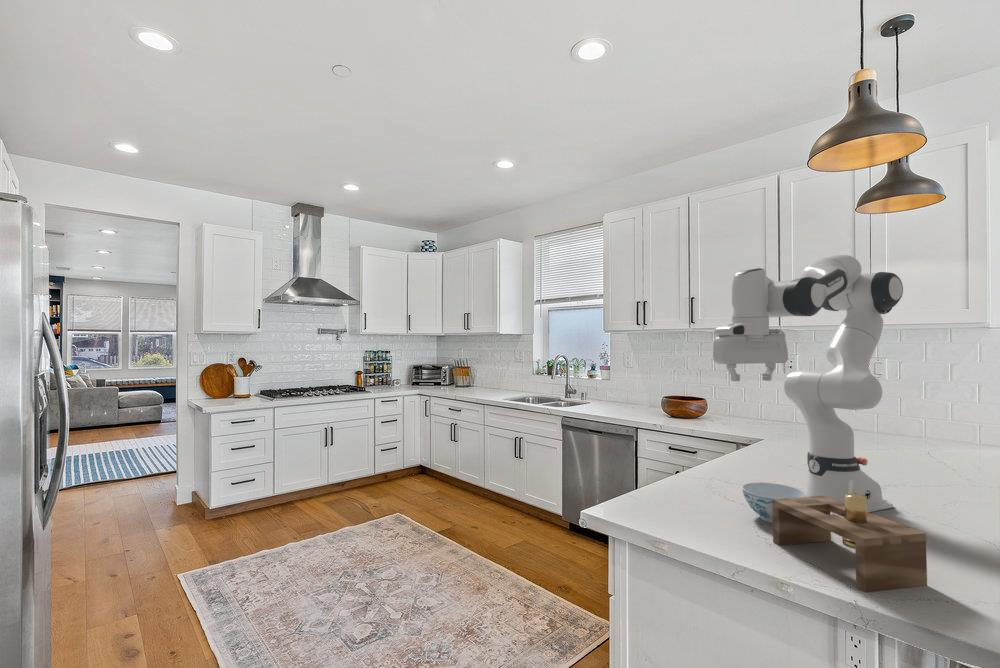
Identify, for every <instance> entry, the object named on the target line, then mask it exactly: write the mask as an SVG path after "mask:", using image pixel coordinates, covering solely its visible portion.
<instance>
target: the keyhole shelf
mask: <svg viewBox="0 0 1000 668" xmlns="http://www.w3.org/2000/svg"><path fill="white" fill-rule="evenodd" d="M831 513H833V514H831ZM772 514H773V523H772V543H775V544H776V545H778V546H784V545H785V546H787V545H795V544H806V543H807V544H808V543H818V542H829V541H832V533H833V534H835V535H838V536H840V537H844V538H846V539H848V540H850V541H853V542H855V549H854V550H855V584H856V585H855V587H856V588H857V589H859V590H860V591H863V592H865V593H871V592H879V591H881V592H882V591H888V590H889V591H890V590H897V589H898V590H899V589H906V588H915V587H923V586H928V566H927V565H928V564H927V534H926V532H924V531H921V530H918V529H916V528H913V527H910V526H908V525H904V524H902V523H899V522H897V521H894V520H890V519H889V518H888V519H887V518H886V517H883V516H880V515H877V514H874V513H873V512H867V523H854V522H850V521H848V520H846V519H845V503H842V502H839V501H836V500H834V499H831V498H828V497H825V496H812V497H798V498H784V499H772Z"/></svg>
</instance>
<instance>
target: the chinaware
mask: <svg viewBox="0 0 1000 668" xmlns="http://www.w3.org/2000/svg"><path fill="white" fill-rule="evenodd" d="M741 490H742V494H743V497H744V499H745V501H746V503H747V505H748V506H749V507H750V508H751V509H752V510H753V511H754V512H755V513H756V514H758V515H759V518H760V519H761V520H762V521H764V522H766V523H771V524H773V514H772V499H784V498H798V497H806V493H805V491H803V490H802V489H800V488H797V487H795V486H790V485H785V484H781V483H780V484H779V483H775V482H774V483H772V482H748V483H745V484H743V485H742V488H741Z"/></svg>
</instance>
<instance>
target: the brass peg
mask: <svg viewBox="0 0 1000 668" xmlns="http://www.w3.org/2000/svg"><path fill="white" fill-rule="evenodd" d="M844 518H845V519H846V520H848V521H850V522H854V523H867V509H866V497H865V496H862V495H858V494H845V517H844ZM842 544H843V546H846V547H847V548H850V549H853V550H855V542H853V541H850V540H848V539H846V538H844V537H842Z"/></svg>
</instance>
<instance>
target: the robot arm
mask: <svg viewBox="0 0 1000 668" xmlns="http://www.w3.org/2000/svg"><path fill="white" fill-rule="evenodd" d="M903 292H904V285H903V281H902V279H901V277H899V276H898V275H897V274H896V273H894V272H889V271H879V272H868V273H865V272H864V273H862V265H861V263H860V262H859V260H858V259H857V258H856V257H853V256H851V255H847V254H840V255H839V254H838V255H833V256H828V257H825V258H821V259H818V260H816V261H814V262H811V263H810V264H808V265H807V266H806V267H805V268H804V269H802V272H801V273H800V277H799V278H795V279H790V280H789V279H787V280H778V281H775V280H772V279H770V278H769V277H768V276H767V272H766V269H765V268H761V267H760V268H759V267H758V268H751V269H746V270H741V271H737V272H736V273H735V274H734V275H733V279H732V284H731V305H732V307H733V309H732V310H733V311H732V315H731V322H730V323H727V324H725V325H721V326H718V327H716V328H715V329H714V335H715V336H716V338H715V339H714V340H713V347H712V359H713V361H714V363H716V364H718V365H726V369H727V371H728V373H729V374H730V381H731V382H740V380H741V374H739V373H737V370H736V368H737V365H739V364H741V365H746V364H749V365H751V364H764V365H765V368H766V370H765V372H764V373H762V374H761V376H762V380H763V381H772V380H773V379H772V378H773V373H774V371H775V370H776V364H786V363H787V362H788V360H789V352H788V351H789V350H788V345H787V341H786V334H785V332H784V331H782V330H781V329H780V328H779V329H778V328H770V318H782V317H783V318H784V317H786V318H787V317H812V316H815V315H816V314H818V312H820V311H821V309H822V308H823V309H824V310H826V311H832V312H839V311H845V312H846V317H845V318H844V319H843V320H841V323H840V324H839V325H838V327H837V328H836V330H835V333H834V334H833V336H832V338H831V339H830V342H829V343H828V345H827V347H826V349H825V355H826V359H827V361H828V362H829V363H830V364H831V365H832V366H834V368H833V369H810V368H808V369H807V368H806V369H799V370H794V371H791V372H789V373H788V374H787V376H786V377H785V379H784V382H783V390H784V393H785V395H786V397H787V398H788V399H789V400H790V401H792V403H794V405H795V406H796V407H797V408H798V409H799V411H800V412H801V415H803V416H802V417H803V418H804V421H805V423H806V428H807V435H808V436H807V437H808V452H807V455H806V458H807V459H806V460H807V461H806V463H807V467H808V471H807V481H806V485H805V486H806V487H805V491H804V492H805V493H806V497H812V496H825V497H828V498H831V499H834V500H836V501H839V502H842V503H845V494H858V495H862V496H865V497H866V509H867V512H869V513H873V512H878V511H882V510H887V509H892V508H894V505H893V504H894V503H892V502H891V501H890V500H886V499H884V498H883V493H882V487H881V485H880V484H879V482H878V481H875V480H874V479H873V478H872V477H871V476H869V475H868V474H866V473H865V472H864V471H863V470H862V469H861V466H860V465H862V466H867V465H868V461H869V460H868V459H867V458H863V457H856V455H855V433H854V430H853V429H852V427H851V426H850V425H849V424H848V423H846V422H845V421H843V420H842V419H841V418H839V416H838V415H837V413H836V411H835V409H841V410H851V411H858V410H861V411H862V410H870V409H874V408H875V407H877V406H878V404H879V403H880V402H881V399H882V397H883V387H882V384H881V382H880V380H878V378H877V377H876V376H874V375H873V374H872V373H871V371H870V369H869V366H870V365H869V364H870V362H871V359H872V356H873V354H874V352H875V350H876V348H877V346H878V343H879V342H880V338H881V336H882V332H883V328H884V327H883V326H884V319H883V316H882V315H886V314H888V313H890V312H891V311H892V310H893V308H894V307H895V306H896V305H897V304H898V303H899V301H900V300H901V298H902V297H903V294H904V293H903Z"/></svg>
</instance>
